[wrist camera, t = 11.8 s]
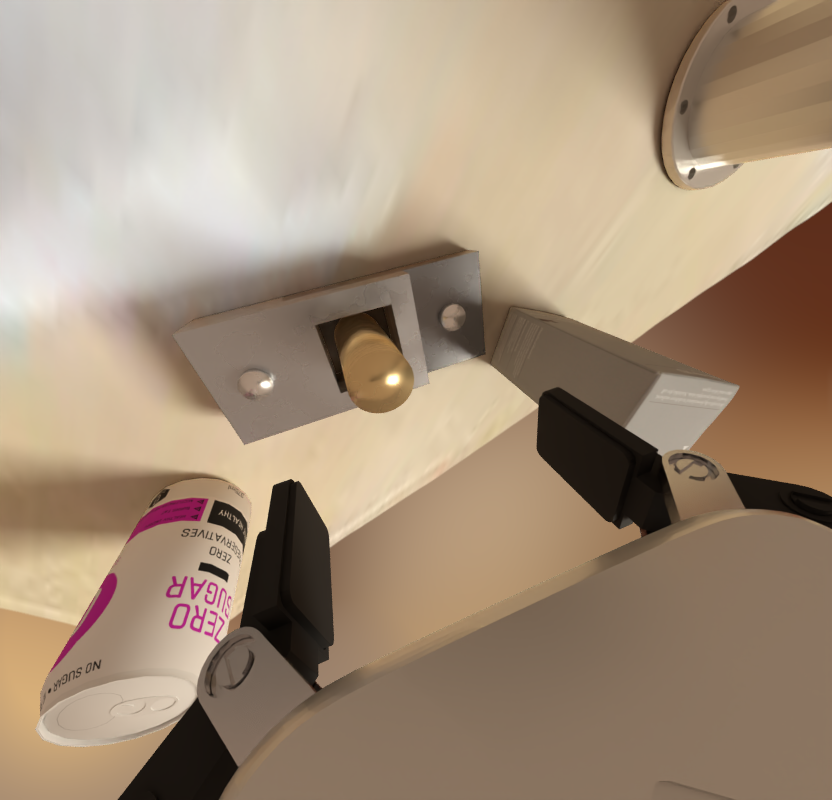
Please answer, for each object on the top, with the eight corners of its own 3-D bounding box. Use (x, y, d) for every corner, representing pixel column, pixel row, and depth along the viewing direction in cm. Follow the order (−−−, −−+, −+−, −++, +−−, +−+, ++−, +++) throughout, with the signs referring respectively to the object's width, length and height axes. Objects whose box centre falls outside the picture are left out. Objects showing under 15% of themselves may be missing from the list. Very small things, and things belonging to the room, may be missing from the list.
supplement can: (140, 528, 28) (4, 766, 15) (169, 463, 26) (37, 677, 13) (234, 539, 32) (187, 735, 19) (265, 484, 30) (235, 663, 17)
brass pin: (374, 306, 25) (406, 342, 16) (385, 350, 27) (419, 401, 19) (327, 319, 24) (337, 363, 16) (342, 362, 26) (358, 421, 18)
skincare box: (569, 317, 32) (755, 375, 18) (543, 377, 35) (687, 464, 21) (505, 303, 29) (675, 360, 15) (482, 371, 31) (608, 468, 18)
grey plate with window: (467, 250, 25) (495, 252, 21) (475, 347, 30) (499, 363, 26) (193, 319, 21) (167, 337, 17) (252, 418, 26) (243, 449, 22)
